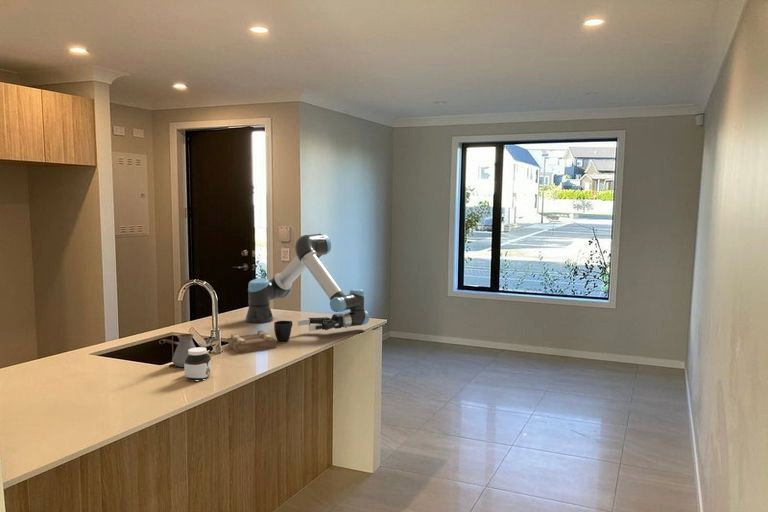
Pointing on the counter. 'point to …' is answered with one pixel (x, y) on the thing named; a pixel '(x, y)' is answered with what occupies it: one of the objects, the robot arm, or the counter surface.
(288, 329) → the mug
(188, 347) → the coffee pot
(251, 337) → the brown piece
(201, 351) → the spread jar
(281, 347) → the counter surface
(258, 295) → the robot arm
